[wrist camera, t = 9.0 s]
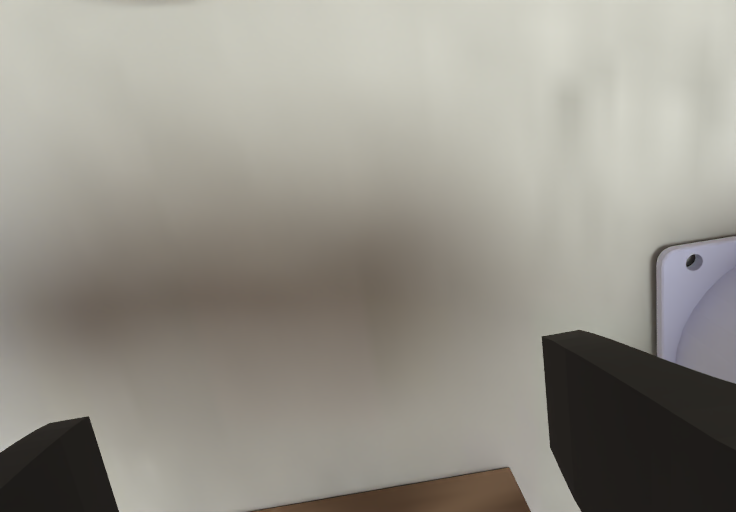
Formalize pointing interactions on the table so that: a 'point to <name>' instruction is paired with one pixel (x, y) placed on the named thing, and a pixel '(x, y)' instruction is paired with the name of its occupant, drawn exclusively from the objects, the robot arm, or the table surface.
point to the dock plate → (430, 497)
